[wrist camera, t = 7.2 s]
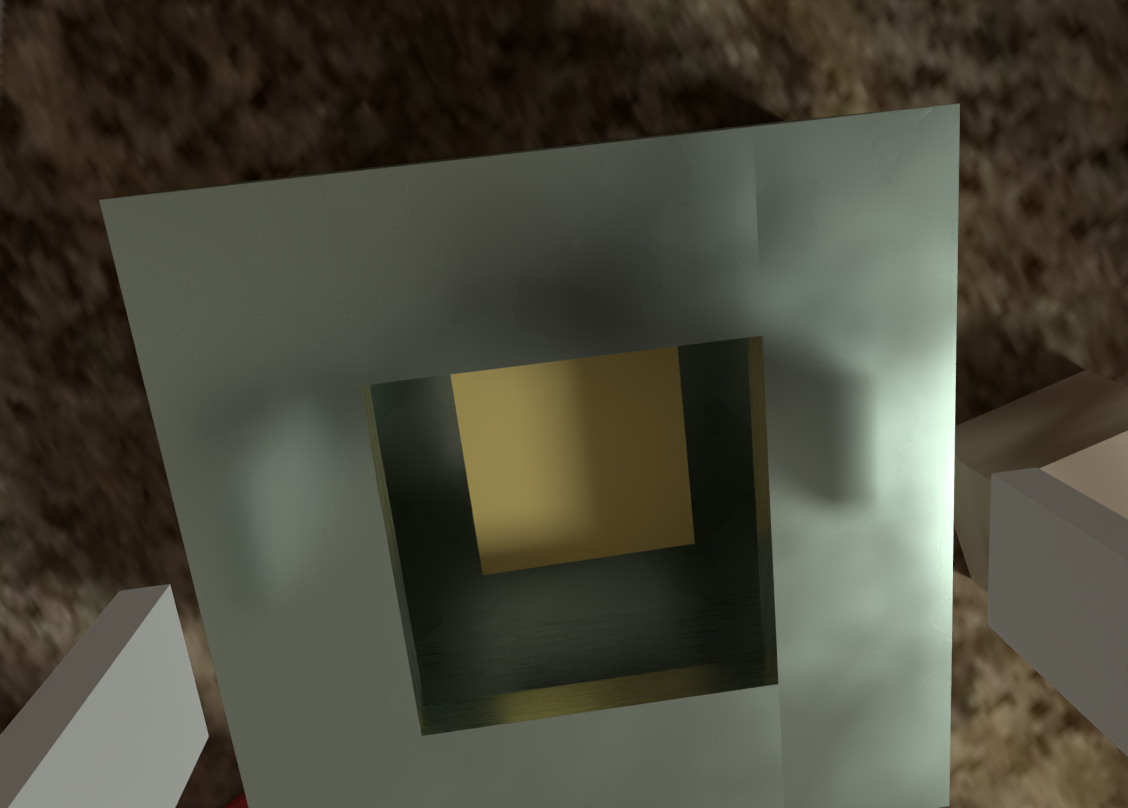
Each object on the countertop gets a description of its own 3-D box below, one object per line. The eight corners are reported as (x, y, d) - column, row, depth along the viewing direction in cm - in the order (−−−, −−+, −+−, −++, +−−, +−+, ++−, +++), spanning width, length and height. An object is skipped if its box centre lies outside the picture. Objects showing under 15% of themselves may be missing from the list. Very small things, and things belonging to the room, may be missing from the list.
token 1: (645, 305, 24) (676, 335, 20) (662, 483, 25) (694, 543, 21) (455, 331, 23) (449, 366, 19) (483, 509, 25) (482, 575, 21)
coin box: (785, 121, 24) (959, 103, 15) (802, 599, 27) (949, 806, 19) (245, 181, 23) (99, 199, 14) (341, 664, 27) (273, 909, 18)
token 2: (1082, 369, 26) (1184, 406, 22) (1119, 512, 28) (1221, 570, 24) (924, 437, 26) (998, 485, 23) (969, 576, 28) (1046, 644, 24)
